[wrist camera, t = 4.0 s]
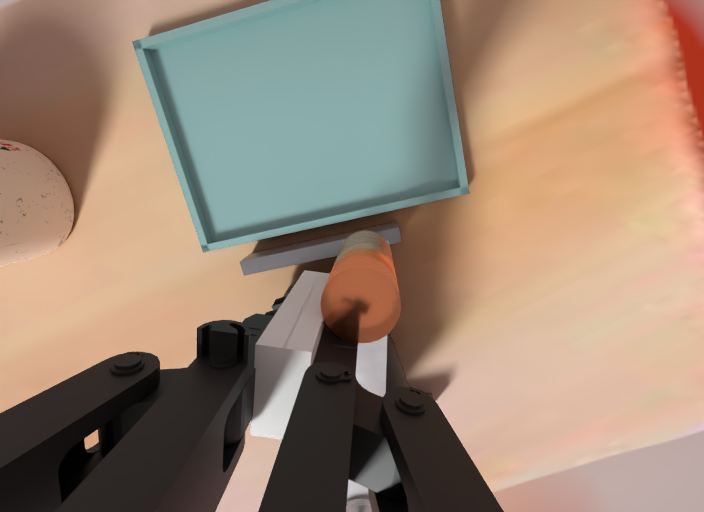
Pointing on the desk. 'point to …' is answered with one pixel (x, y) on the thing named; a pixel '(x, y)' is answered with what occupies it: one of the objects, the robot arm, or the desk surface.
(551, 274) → the desk surface
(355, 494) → the crank handle
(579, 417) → the desk surface
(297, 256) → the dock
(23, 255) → the teacup with lid
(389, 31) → the tray
